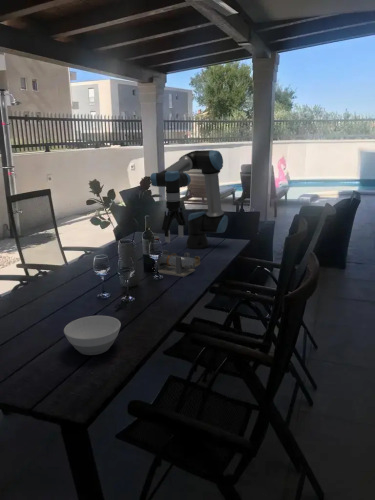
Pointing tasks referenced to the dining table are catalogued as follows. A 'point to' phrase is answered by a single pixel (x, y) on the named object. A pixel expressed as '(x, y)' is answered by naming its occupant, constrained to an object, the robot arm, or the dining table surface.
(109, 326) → the bowl
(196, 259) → the rack
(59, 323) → the dining table surface
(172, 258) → the tube
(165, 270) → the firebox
